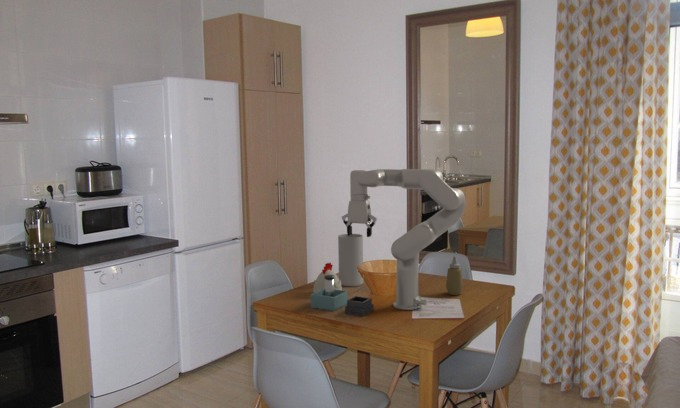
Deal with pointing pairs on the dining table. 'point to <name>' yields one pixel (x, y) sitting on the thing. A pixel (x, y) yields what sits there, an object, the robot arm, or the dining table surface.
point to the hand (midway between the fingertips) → (359, 235)
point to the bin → (329, 300)
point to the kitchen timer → (320, 280)
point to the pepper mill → (329, 285)
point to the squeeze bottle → (454, 278)
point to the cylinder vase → (350, 259)
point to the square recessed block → (359, 306)
